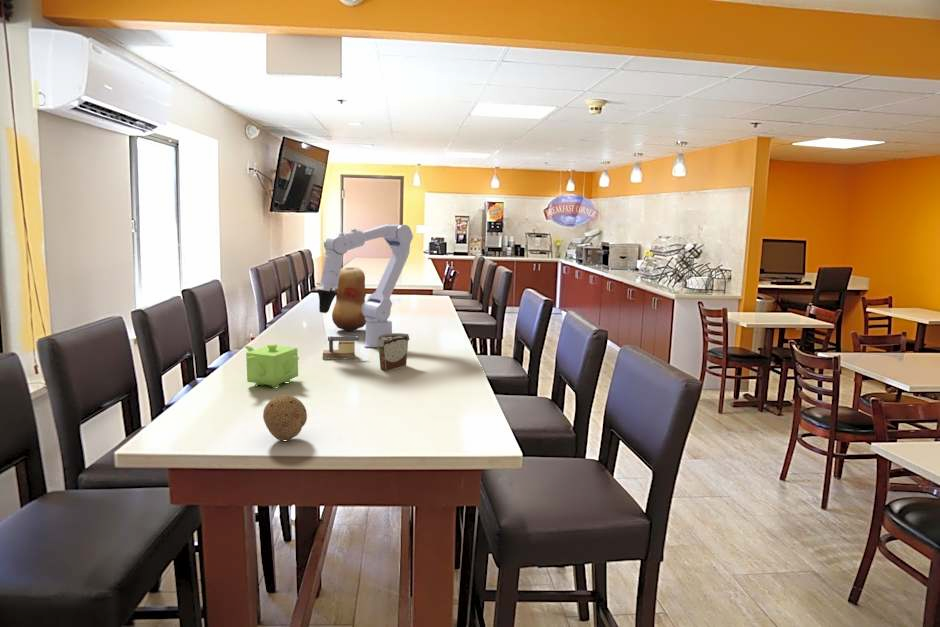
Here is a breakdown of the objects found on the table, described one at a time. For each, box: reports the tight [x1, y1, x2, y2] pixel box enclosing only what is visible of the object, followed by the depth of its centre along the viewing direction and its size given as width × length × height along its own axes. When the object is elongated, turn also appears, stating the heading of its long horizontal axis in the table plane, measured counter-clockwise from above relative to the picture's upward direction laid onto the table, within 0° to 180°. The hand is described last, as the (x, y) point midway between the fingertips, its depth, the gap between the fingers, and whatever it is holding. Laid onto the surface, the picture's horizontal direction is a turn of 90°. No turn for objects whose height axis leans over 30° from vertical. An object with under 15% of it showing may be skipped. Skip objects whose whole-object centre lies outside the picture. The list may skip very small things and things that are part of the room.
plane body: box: [321, 341, 356, 360], centre depth 208 cm, size 10×5×5 cm, turn 98°
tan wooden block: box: [337, 341, 356, 353], centre depth 208 cm, size 5×5×3 cm
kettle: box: [243, 343, 300, 389], centre depth 177 cm, size 15×14×11 cm
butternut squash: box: [331, 266, 367, 332], centre depth 247 cm, size 14×13×25 cm
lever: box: [327, 335, 361, 342], centre depth 208 cm, size 10×2×2 cm, turn 98°
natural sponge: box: [262, 394, 308, 441], centre depth 136 cm, size 9×9×10 cm
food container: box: [376, 332, 410, 373], centre depth 197 cm, size 12×6×10 cm, turn 145°
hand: (323, 312), depth 210 cm, fingers open, 7 cm apart
